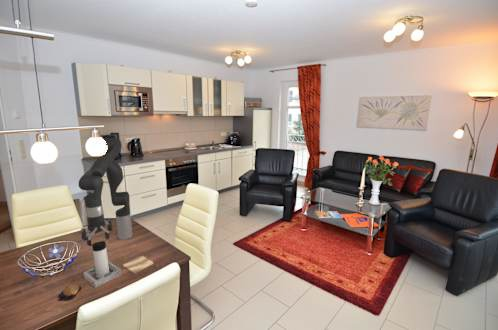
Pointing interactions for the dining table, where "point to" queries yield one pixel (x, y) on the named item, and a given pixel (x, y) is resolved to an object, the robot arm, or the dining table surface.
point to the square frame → (106, 277)
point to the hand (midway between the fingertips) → (98, 242)
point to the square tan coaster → (137, 264)
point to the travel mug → (100, 259)
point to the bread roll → (69, 292)
